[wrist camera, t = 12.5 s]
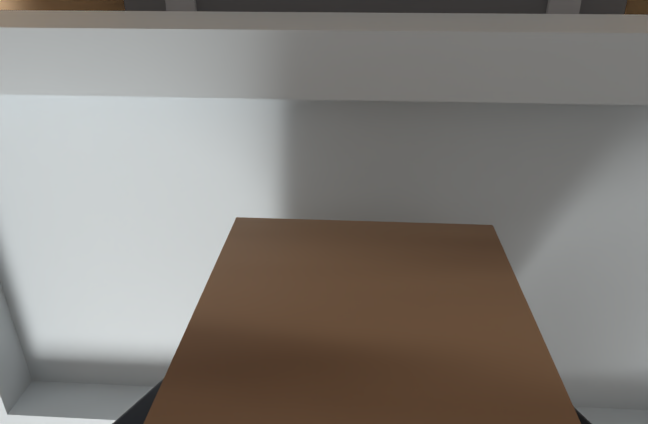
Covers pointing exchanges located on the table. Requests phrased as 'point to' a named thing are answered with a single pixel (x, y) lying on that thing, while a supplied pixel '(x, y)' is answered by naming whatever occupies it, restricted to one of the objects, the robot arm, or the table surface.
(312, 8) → the track mat
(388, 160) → the white rimmed tray
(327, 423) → the brown wooden block
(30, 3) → the table surface
